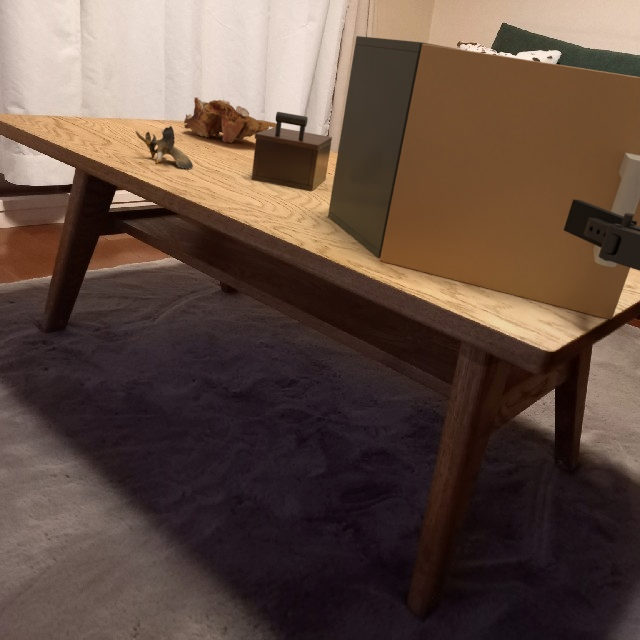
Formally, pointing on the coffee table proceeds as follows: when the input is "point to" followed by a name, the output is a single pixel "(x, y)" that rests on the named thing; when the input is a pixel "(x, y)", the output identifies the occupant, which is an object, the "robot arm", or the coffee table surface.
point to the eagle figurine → (166, 147)
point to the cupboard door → (514, 175)
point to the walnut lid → (293, 133)
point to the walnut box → (290, 164)
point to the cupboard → (373, 136)
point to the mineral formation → (224, 121)
